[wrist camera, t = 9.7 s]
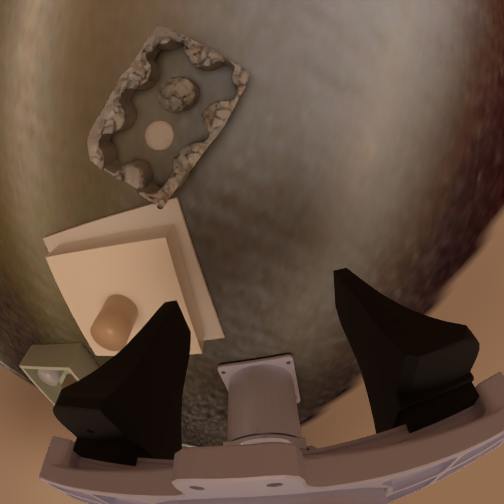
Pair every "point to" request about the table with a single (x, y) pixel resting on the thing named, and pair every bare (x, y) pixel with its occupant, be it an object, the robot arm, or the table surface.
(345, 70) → the table surface
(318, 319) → the table surface
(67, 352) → the storage box
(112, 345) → the lid
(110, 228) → the mat
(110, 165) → the rocky grey tray
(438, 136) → the table surface
